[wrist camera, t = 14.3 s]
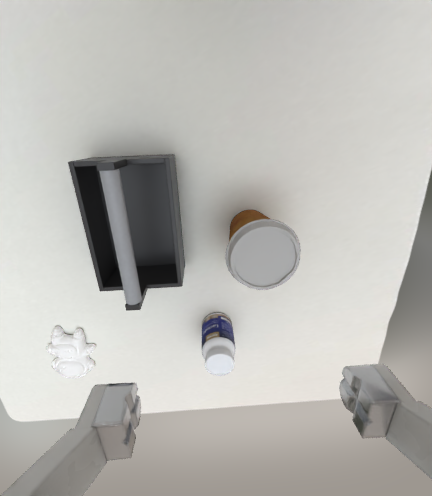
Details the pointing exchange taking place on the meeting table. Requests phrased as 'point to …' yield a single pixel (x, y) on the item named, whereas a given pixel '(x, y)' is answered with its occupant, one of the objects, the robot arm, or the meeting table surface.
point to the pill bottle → (218, 344)
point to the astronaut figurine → (71, 353)
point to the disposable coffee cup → (261, 250)
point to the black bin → (131, 222)
